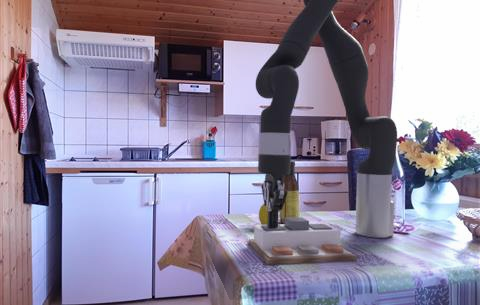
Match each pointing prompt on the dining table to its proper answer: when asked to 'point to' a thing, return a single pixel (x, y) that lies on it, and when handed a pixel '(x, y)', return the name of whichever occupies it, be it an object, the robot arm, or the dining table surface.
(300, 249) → the switch base
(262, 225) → the button
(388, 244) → the dining table surface
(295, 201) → the sauce bottle
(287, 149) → the robot arm
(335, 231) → the switch housing
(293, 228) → the button
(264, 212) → the lemon
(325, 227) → the button
